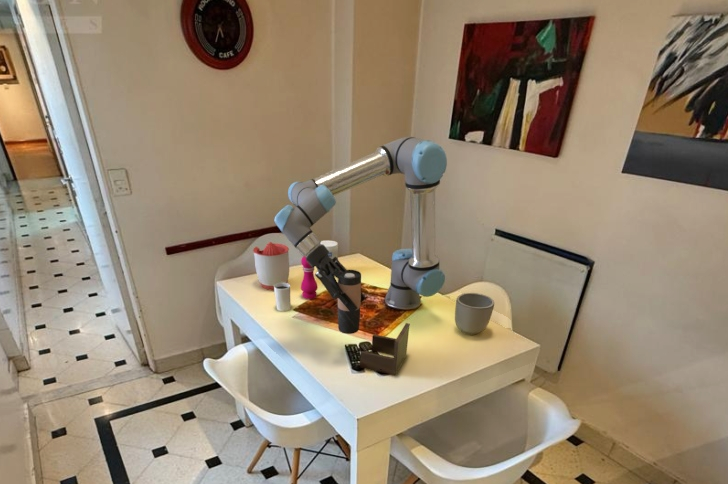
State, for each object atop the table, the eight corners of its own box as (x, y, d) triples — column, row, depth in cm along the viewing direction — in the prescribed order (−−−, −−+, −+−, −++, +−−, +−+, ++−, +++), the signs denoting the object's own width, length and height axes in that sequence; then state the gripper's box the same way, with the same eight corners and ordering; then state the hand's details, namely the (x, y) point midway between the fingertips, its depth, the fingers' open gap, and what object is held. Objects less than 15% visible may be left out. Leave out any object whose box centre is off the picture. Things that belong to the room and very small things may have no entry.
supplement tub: (325, 278, 220) (324, 247, 211) (314, 272, 226) (313, 242, 217) (341, 274, 224) (342, 244, 216) (330, 268, 231) (330, 238, 222)
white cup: (287, 312, 190) (286, 290, 184) (273, 310, 192) (271, 287, 186) (294, 306, 195) (292, 283, 189) (279, 303, 197) (278, 281, 191)
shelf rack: (372, 348, 167) (374, 317, 160) (406, 355, 164) (409, 323, 156) (360, 367, 157) (361, 334, 149) (395, 375, 153) (398, 342, 146)
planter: (464, 319, 187) (469, 289, 179) (494, 331, 179) (501, 300, 171) (444, 330, 179) (449, 299, 171) (475, 343, 171) (481, 312, 163)
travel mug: (357, 335, 156) (359, 279, 144) (335, 333, 157) (335, 277, 145) (361, 325, 162) (363, 270, 150) (340, 322, 163) (340, 268, 151)
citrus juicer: (275, 275, 222) (272, 233, 211) (297, 285, 212) (295, 242, 200) (248, 283, 214) (243, 240, 202) (269, 295, 204) (265, 250, 192)
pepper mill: (320, 295, 204) (320, 250, 192) (311, 301, 199) (309, 255, 187) (307, 291, 207) (306, 247, 195) (298, 297, 202) (295, 252, 190)
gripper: (318, 248, 158) (361, 299, 163) (292, 268, 143) (340, 324, 147) (333, 234, 153) (376, 287, 158) (307, 253, 138) (356, 312, 143)
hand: (358, 305), depth 153 cm, fingers closed on travel mug, 7 cm apart
